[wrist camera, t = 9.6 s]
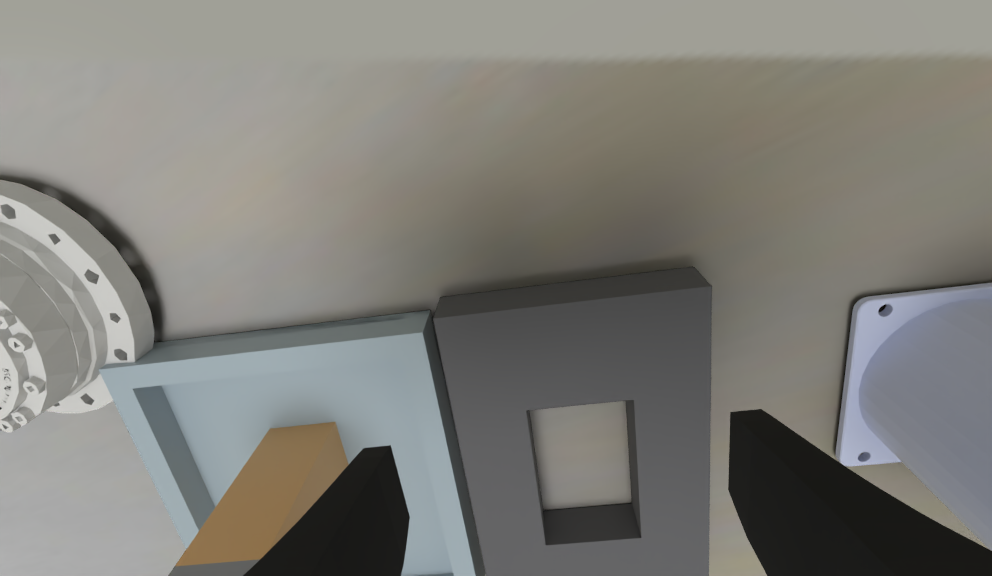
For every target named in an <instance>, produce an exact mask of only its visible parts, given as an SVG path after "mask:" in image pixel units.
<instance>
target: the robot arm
mask: <svg viewBox="0 0 992 576" xmlns="http://www.w3.org/2000/svg"><path fill="white" fill-rule="evenodd" d="M883 305H886V307H885V309H884V310H883V311H881V312H878V311H879V308H880V307H881V306H883ZM863 452H864V453H863ZM861 453H863V454H862V455H860V454H861ZM836 458H837V459H838V460H839V461H840V462H841V463H839V462H838V461H836V460H835V459H833V458H832V457H830V456H829V455H827V454H826V453H824V452H823V451H821V450H820V449H818V448H817V447H815V446H814V445H813V444H811V443H810V442H808V441H807V440H805V439H804V438H802V437H801V436H800V435H798V434H797V433H795V432H794V431H792V430H791V429H790V428H788V427H787V426H785V425H784V424H782V423H781V422H779V421H778V420H777V419H775V418H774V417H772V416H771V415H769V414H768V413H766V412H765V411H763V410H762V409H758V410H748V411H738V412H731V415H730V452H729V488H728V490H729V492H730V495H731V498H732V500H733V503H734V506H735V508H736V511H737V513H738V516H739V518H740V521H741V523H742V526H743V528H744V531H745V533H746V536H747V538H748V540H749V542H750V544H751V546H752V547H753V549H754V551H755V553H756V555H757V557H758V559H759V561H760V562H761V564H762V566H763V568H764V570H765V572H766V574H767V576H992V283H984V284H975V285H967V286H958V287H949V288H940V289H931V290H922V291H913V292H905V293H896V294H887V295H878V296H869V297H865V298H862V299H860V300H859V301H857V303H856V304H855V305H854V308H853V312H852V321H851V329H850V337H849V346H848V354H847V362H846V371H845V379H844V387H843V396H842V404H841V412H840V421H839V429H838V437H837V446H836ZM895 462H903V463H904V464H905V465H906V466H907V467H908V468H909V469H910V470H911V471H912V472H913V473H914V474H915V475H916V476H917V477H918V478H919V479H920V480H921V481H922V482H923V483H924V484H925V485H926V486H927V487H928V488H929V489H930V490H931V491H932V492H933V493H934V494H935V495H936V496H937V497H938V498H939V499H940V500H941V501H942V503H943V504H944V505H945V506H946V507H947V508H948V509H949V510H950V511H951V512H952V513H953V514H954V515H955V516H956V517H957V518H958V519H959V520H960V521H961V522H962V523H963V524H964V525H965V526H966V527H967V528H968V529H969V530H970V531H971V532H972V533H973V534H974V535H975V536H976V537H977V538H978V539H979V540H980V541H981V542H982V543H983V544H984V545H985V546H986V547H987V548H988V549H987V548H985V547H983V546H981V545H979V544H977V543H975V542H974V541H972V540H970V539H968V538H966V537H964V536H962V535H960V534H958V533H956V532H955V531H953V530H951V529H949V528H947V527H945V526H943V525H941V524H939V523H938V522H936V521H934V520H932V519H930V518H929V517H927V516H925V515H923V514H921V513H920V512H918V511H916V510H915V509H913V508H911V507H910V506H908V505H906V504H905V503H903V502H901V501H900V500H898V499H896V498H894V497H893V496H891V495H889V494H888V493H886V492H884V491H883V490H881V489H879V488H878V487H876V486H875V485H873V484H872V483H870V482H868V481H867V480H865V479H864V478H862V477H860V476H859V475H857V474H856V473H854V472H853V471H851V470H850V469H848V468H847V467H845V466H860V465H872V464H883V463H895ZM409 520H410V516H409V512H408V508H407V504H406V501H405V497H404V493H403V489H402V486H401V482H400V478H399V474H398V471H397V467H396V463H395V459H394V456H393V452H392V448H391V445H389V446H379V447H368V448H363V449H362V450H361V451H360V453H359V454H358V455H357V456H356V457H355V458H354V459H353V460H352V461H351V463H350V464H349V465H348V466H347V467H346V468H345V469H344V470H343V472H342V473H341V474H340V475H339V476H338V477H337V479H336V480H335V481H334V482H333V483H332V484H331V485H330V486H329V488H328V489H327V490H326V491H325V492H324V493H323V494H322V495H321V497H320V498H319V499H318V500H317V501H316V502H315V503H314V504H313V505H312V506H311V508H310V509H309V510H308V511H307V512H306V513H305V514H304V515H303V516H302V517H301V519H300V520H299V521H298V522H297V523H296V524H295V525H294V526H293V527H292V528H291V529H290V530H289V531H288V532H287V533H286V534H285V535H284V536H283V537H282V538H281V539H280V540H279V541H278V542H277V543H276V544H275V545H274V546H273V547H272V548H271V549H270V550H269V551H268V552H267V553H266V554H265V555H264V556H263V557H262V558H261V559H260V560H259V561H258V562H257V563H256V564H255V565H254V566H253V567H252V568H251V569H250V570H248V571H247V572H246V573H245V574H244V575H243V576H401V573H402V569H403V565H404V559H405V552H406V545H407V537H408V528H409Z"/></svg>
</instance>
